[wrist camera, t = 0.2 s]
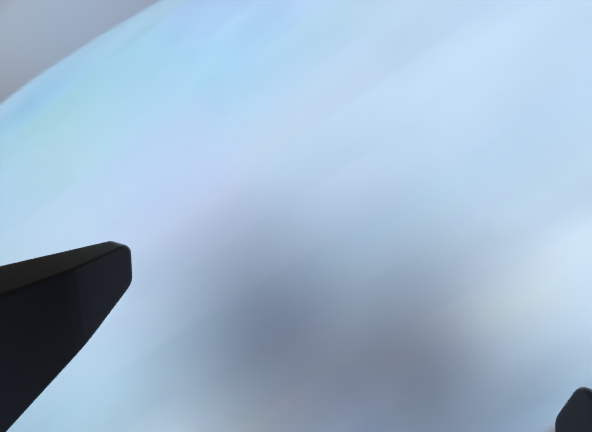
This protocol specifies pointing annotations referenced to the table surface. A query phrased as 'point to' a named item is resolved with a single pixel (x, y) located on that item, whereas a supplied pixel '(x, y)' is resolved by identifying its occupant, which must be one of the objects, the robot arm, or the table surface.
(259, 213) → the table surface
